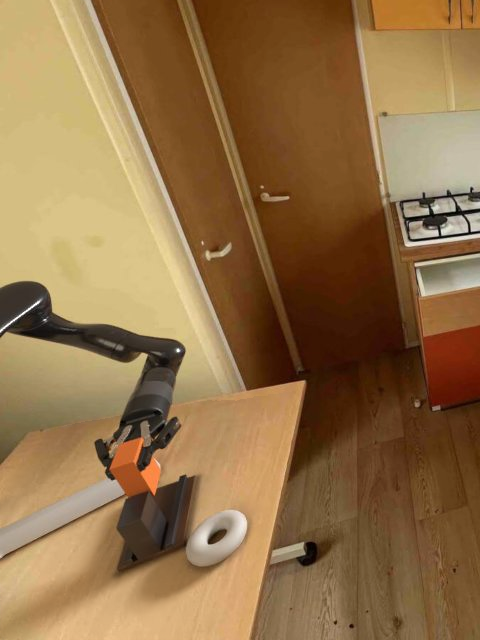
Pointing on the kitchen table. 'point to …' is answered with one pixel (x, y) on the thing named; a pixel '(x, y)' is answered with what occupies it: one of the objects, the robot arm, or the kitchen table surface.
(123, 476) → the orange rectangular block
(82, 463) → the kitchen table surface
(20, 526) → the tube
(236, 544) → the donut
